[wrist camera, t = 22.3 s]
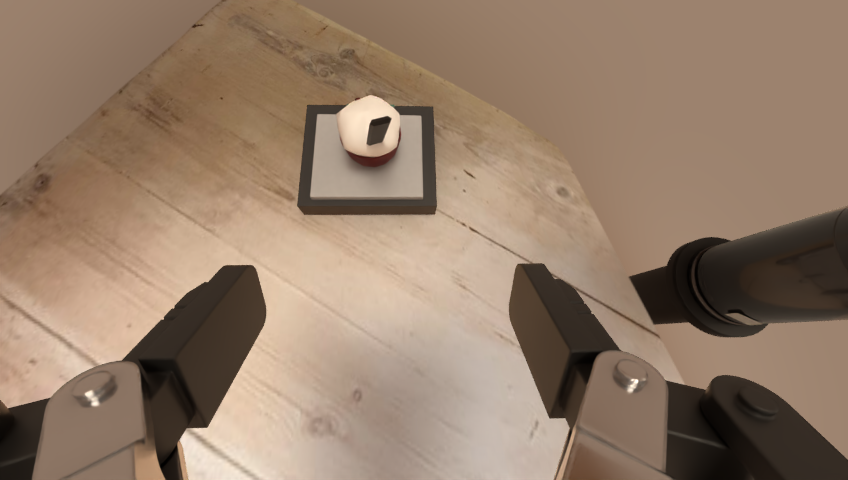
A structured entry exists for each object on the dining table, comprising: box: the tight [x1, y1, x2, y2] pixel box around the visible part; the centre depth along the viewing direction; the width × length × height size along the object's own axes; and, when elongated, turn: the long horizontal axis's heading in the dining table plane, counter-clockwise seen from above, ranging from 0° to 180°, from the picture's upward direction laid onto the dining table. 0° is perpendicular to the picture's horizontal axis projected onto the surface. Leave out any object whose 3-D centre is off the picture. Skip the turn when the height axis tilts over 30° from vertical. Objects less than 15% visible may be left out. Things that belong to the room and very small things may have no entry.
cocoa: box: [336, 95, 401, 167], centre depth 31 cm, size 10×6×12 cm, turn 178°
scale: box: [297, 104, 437, 215], centre depth 38 cm, size 15×13×3 cm
